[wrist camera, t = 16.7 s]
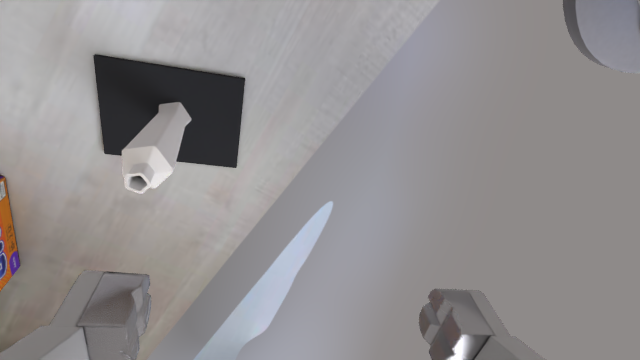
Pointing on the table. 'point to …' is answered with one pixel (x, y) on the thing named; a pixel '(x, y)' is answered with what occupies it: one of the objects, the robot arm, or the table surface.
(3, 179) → the game box
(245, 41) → the table surface
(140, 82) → the mat
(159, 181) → the white pentagonal vase
